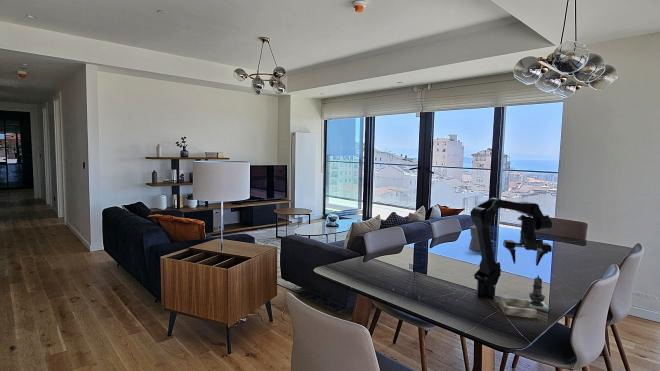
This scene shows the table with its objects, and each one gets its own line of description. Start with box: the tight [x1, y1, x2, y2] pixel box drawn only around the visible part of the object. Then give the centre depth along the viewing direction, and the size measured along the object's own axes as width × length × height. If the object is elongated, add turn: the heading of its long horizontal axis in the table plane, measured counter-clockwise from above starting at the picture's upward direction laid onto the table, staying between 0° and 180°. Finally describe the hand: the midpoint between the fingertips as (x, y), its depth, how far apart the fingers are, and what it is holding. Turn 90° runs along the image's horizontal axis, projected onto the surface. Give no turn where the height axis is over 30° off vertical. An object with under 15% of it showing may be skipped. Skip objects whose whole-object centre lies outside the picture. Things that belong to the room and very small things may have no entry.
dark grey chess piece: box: [528, 275, 546, 306], centre depth 154 cm, size 6×6×12 cm
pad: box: [528, 299, 550, 310], centre depth 154 cm, size 7×7×1 cm
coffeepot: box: [468, 224, 481, 252], centre depth 247 cm, size 15×9×18 cm, turn 118°
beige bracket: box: [497, 296, 538, 319], centre depth 148 cm, size 11×11×3 cm
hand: (525, 264), depth 168 cm, fingers open, 9 cm apart
